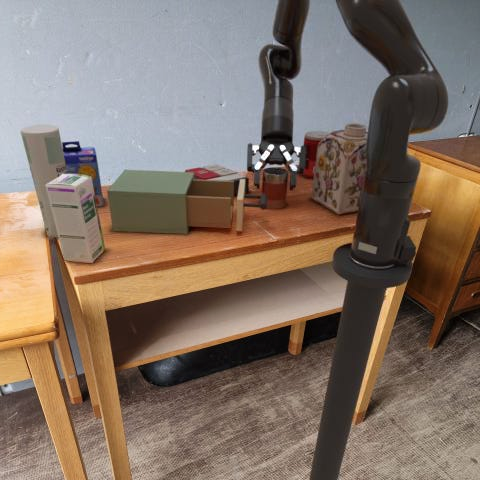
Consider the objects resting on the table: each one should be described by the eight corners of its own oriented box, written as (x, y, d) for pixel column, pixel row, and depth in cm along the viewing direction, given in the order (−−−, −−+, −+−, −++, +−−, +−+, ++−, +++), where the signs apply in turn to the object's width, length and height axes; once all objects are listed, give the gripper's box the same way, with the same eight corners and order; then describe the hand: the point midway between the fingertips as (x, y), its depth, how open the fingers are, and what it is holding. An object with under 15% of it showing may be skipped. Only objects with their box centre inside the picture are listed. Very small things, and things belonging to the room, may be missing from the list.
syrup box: (92, 264, 81) (77, 185, 72) (62, 260, 81) (44, 182, 73) (105, 250, 85) (92, 174, 77) (77, 247, 86) (61, 172, 78)
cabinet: (195, 209, 103) (194, 172, 98) (187, 234, 92) (185, 193, 87) (129, 206, 103) (124, 169, 98) (113, 231, 92) (106, 190, 87)
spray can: (73, 238, 89) (50, 133, 77) (41, 237, 89) (13, 132, 77) (83, 225, 94) (63, 125, 83) (52, 224, 94) (28, 124, 83)
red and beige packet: (217, 162, 121) (249, 174, 110) (217, 178, 123) (249, 192, 113) (181, 168, 116) (212, 182, 105) (183, 185, 118) (213, 200, 108)
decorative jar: (347, 192, 115) (360, 117, 104) (377, 208, 106) (394, 128, 96) (309, 199, 110) (318, 121, 100) (337, 215, 102) (350, 133, 91)
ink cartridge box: (60, 210, 100) (45, 144, 92) (60, 202, 105) (45, 137, 96) (104, 206, 103) (94, 141, 95) (103, 198, 107) (93, 135, 99)
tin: (285, 200, 109) (288, 167, 104) (286, 209, 104) (289, 175, 100) (261, 199, 109) (263, 166, 105) (261, 208, 104) (262, 174, 100)
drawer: (265, 209, 102) (267, 180, 98) (265, 232, 92) (267, 200, 88) (181, 206, 102) (180, 176, 98) (172, 228, 92) (170, 196, 88)
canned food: (333, 175, 126) (339, 134, 120) (317, 181, 121) (322, 139, 115) (311, 168, 130) (316, 129, 124) (295, 174, 126) (299, 133, 119)
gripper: (247, 112, 102) (243, 179, 99) (309, 115, 102) (307, 181, 99) (247, 131, 109) (244, 194, 107) (305, 133, 109) (303, 196, 106)
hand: (274, 188), depth 103 cm, fingers open, 7 cm apart
